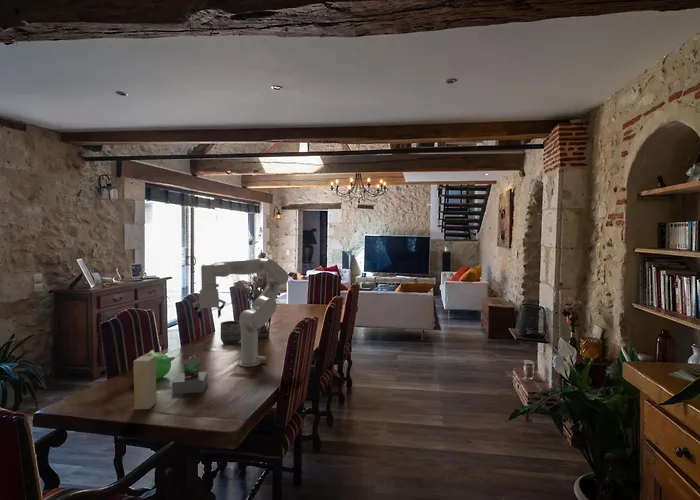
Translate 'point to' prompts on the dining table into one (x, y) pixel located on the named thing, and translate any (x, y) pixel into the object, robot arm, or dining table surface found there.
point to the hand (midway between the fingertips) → (209, 318)
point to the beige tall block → (144, 382)
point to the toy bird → (160, 363)
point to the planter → (230, 332)
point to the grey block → (189, 384)
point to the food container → (191, 366)
